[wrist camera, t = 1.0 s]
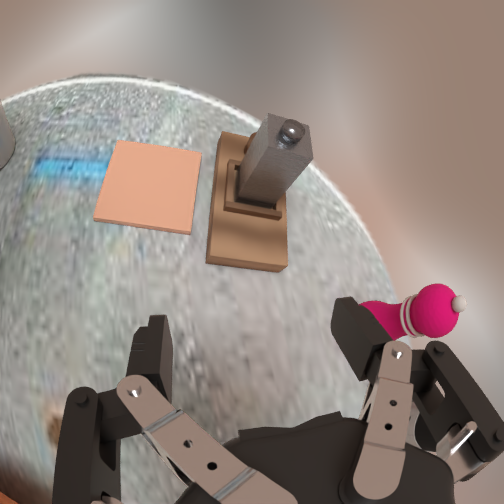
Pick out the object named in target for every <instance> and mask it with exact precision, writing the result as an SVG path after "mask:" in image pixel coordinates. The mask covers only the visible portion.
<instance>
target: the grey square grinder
mask: <svg viewBox="0 0 504 504" xmlns="http://www.w3.org/2000/svg"><path fill="white" fill-rule="evenodd" d="M312 160H313V153H312V146H311V138H310V131H309V126H308V125H305V124H302V123H299V122H298V121H296V120H292V119H286V118H283V117H279V116H276V115H273V114H269V113H268V114H267V115H266V117H265V119H264V120H263V122H262V124H261V126H260V128H259V130H258V131H257V133H256V135H255V137H254V139H253V141H252V143H251V144H250V146H249V148H248V150H247V152H246V154H245V156H244V158H243V160H242V162H241V163H240V165H239V167H238V169H237V171H236V174H235V190H234V202H235V203H241V204H246V205H251V206H256V207H262V208H267V209H271V208H272V207H273V206H274V205H275V203H276V202H277V201H278V200H279V199H280V198H281V196H282V195H283V194H284V193H285V192H286V190H287V189H288V188H289V187H290V186H291V184H292V183H293V182H294V181H295V180H296V179H297V177H298V176H299V175H300V174H301V173H302V171H303V170H304V169H305V168H306V167H307V166H308V164H309V163H310V162H311V161H312Z"/></svg>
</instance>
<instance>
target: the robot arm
mask: <svg viewBox="0 0 504 504" xmlns="http://www.w3.org/2000/svg"><path fill="white" fill-rule="evenodd" d="M14 148H15V138H14V136H13V133H12V131H11V128H10V126H9V123H8V120H7V117H6V115H5V112H4V109H3V106H2V103H1V100H0V169H1V168H2V167H3V166H4V165H5V164H6V163H7V162H8V160H9V159H10V157H11V156H12V154H13V151H14ZM331 332H332V335H333V337H334V338H335V340H336V342H337V343H338V345H339V347H340V349H341V350H342V352H343V354H344V356H345V357H346V359H347V361H348V362H349V364H350V366H351V368H352V369H353V371H354V373H355V375H356V376H357V378H358V380H359V381H363V380H366V379H368V380H369V382H370V383H369V385H368V388H367V391H366V395H365V399H364V402H363V406H362V409H361V412H360V415H359V418H358V419H355V418H346V417H342V415H341V413H340V411H338V412H334V413H330V414H326V415H322V416H318V417H315V418H313V419H311V420H309V421H307V422H305V423H303V424H300V425H298V426H296V427H293V428H281V427H260V428H253V429H245V430H238V431H239V437H238V438H235V439H232V440H230V441H228V442H227V443H225V444H223V445H221V444H219V443H218V442H217V441H216V440H215V439H214V438H212V437H211V436H210V435H209V434H208V433H207V432H206V431H205V430H203V429H202V428H201V427H200V426H199V425H198V424H197V423H196V422H195V421H194V420H193V419H191V418H190V417H189V416H188V415H187V414H186V413H185V412H184V411H182V410H176V409H175V408H174V407H173V406H172V405H171V402H172V363H173V345H172V338H171V334H170V329H169V324H168V319H167V315H150V318H149V323H148V327H140V328H139V329H138V330H137V331H136V333H135V334H134V337H133V342H132V347H131V352H130V357H129V362H128V367H127V373H126V377H125V378H123V379H122V380H121V381H120V382H119V383H118V385H117V388H115V389H113V390H110V391H106V392H102V393H96V392H95V391H94V390H93V389H92V388H89V387H79V388H76V389H74V390H73V391H72V392H71V393H70V394H69V395H68V397H67V401H66V405H65V410H64V415H63V420H62V425H61V431H60V437H59V443H58V450H57V457H56V465H55V473H54V484H53V497H52V504H123V503H122V502H121V484H120V447H121V439H122V438H126V437H130V436H133V435H137V434H141V436H142V437H143V438H144V439H145V441H146V442H147V443H148V444H149V445H150V447H151V448H152V449H153V450H154V451H155V452H156V453H157V455H158V456H159V457H160V458H161V459H162V460H163V461H164V463H165V464H166V465H167V466H168V467H169V469H170V470H171V471H172V472H173V473H174V474H175V475H176V477H177V478H178V479H179V480H180V481H181V482H182V483H183V484H184V485H185V486H186V487H187V489H186V490H185V491H184V493H183V494H182V495H181V496H180V498H179V499H178V500H177V501H176V503H175V504H455V500H454V484H455V483H457V482H458V481H462V482H463V481H467V480H469V479H471V478H472V477H473V476H474V475H476V474H477V473H478V472H480V471H481V470H482V469H483V468H485V467H486V466H487V465H488V464H490V463H491V462H492V461H493V460H494V459H495V458H497V457H498V456H499V455H500V454H501V453H502V452H503V451H504V422H503V421H502V419H501V418H500V416H499V415H498V413H497V412H496V410H495V409H494V407H493V406H492V404H491V403H490V402H489V400H488V398H487V397H486V396H485V394H484V393H483V391H482V390H481V389H480V387H479V386H478V385H477V383H476V382H475V381H474V379H473V378H472V377H471V375H470V374H469V372H468V371H467V370H466V369H465V367H464V366H463V365H462V363H461V362H460V361H459V359H458V358H457V357H456V356H455V354H454V353H453V352H452V351H451V349H450V348H449V347H448V346H447V345H446V344H444V343H443V342H440V341H431V342H429V343H428V344H427V346H426V348H425V350H411V348H410V347H409V346H408V345H407V344H405V343H403V342H401V341H394V340H393V339H392V338H391V336H390V335H389V334H388V333H387V331H386V330H385V329H384V327H383V326H382V325H381V324H380V323H379V321H378V320H377V319H376V318H375V316H374V315H373V314H372V312H371V311H370V310H369V309H367V308H366V307H364V306H362V305H358V304H357V302H356V301H355V300H354V298H353V297H344V298H337V299H336V301H335V304H334V310H333V315H332V320H331ZM436 381H438V382H439V384H440V385H441V386H442V388H443V390H444V392H445V398H444V397H443V395H442V394H441V392H440V391H439V389H438V387H437V386H436V384H435V383H436ZM412 400H413V401H414V403H415V405H416V407H417V408H418V410H419V412H420V414H421V416H422V417H423V419H424V421H425V423H426V425H427V426H428V428H429V430H430V432H431V434H432V436H433V438H434V439H435V441H436V443H437V446H436V454H437V455H436V456H435V455H433V454H431V453H429V452H426V451H424V450H422V449H420V448H418V447H416V446H413V445H411V444H409V443H407V442H405V441H406V436H407V430H408V424H409V417H410V411H411V403H412Z"/></svg>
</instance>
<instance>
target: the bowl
mask: <svg viewBox="0 0 504 504" xmlns="http://www.w3.org/2000/svg"><path fill="white" fill-rule="evenodd" d="M0 504H19V503H17V502H15V501H14V500H12V499H10V498H9V497H7V496H6V495H4V494H3V493H1V492H0Z"/></svg>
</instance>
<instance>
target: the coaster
mask: <svg viewBox="0 0 504 504" xmlns="http://www.w3.org/2000/svg"><path fill="white" fill-rule="evenodd" d="M201 154H202V153H200V152H195V151H189V150H183V149H177V148H171V147H165V146H159V145H152V144H145V143H138V142H130V141H122V140H118V141H117V143H116V146H115V149H114V152H113V154H112V157H111V160H110V163H109V166H108V169H107V172H106V175H105V178H104V181H103V184H102V187H101V191H100V194H99V197H98V201H97V204H96V208H95V212H94V215H93V219H94V221H99V222H106V223H113V224H120V225H127V226H134V227H141V228H148V229H154V230H161V231H168V232H175V233H181V234H188V235H190V233H191V226H192V218H193V210H194V202H195V194H196V187H197V180H198V173H199V167H200V160H201Z"/></svg>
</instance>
